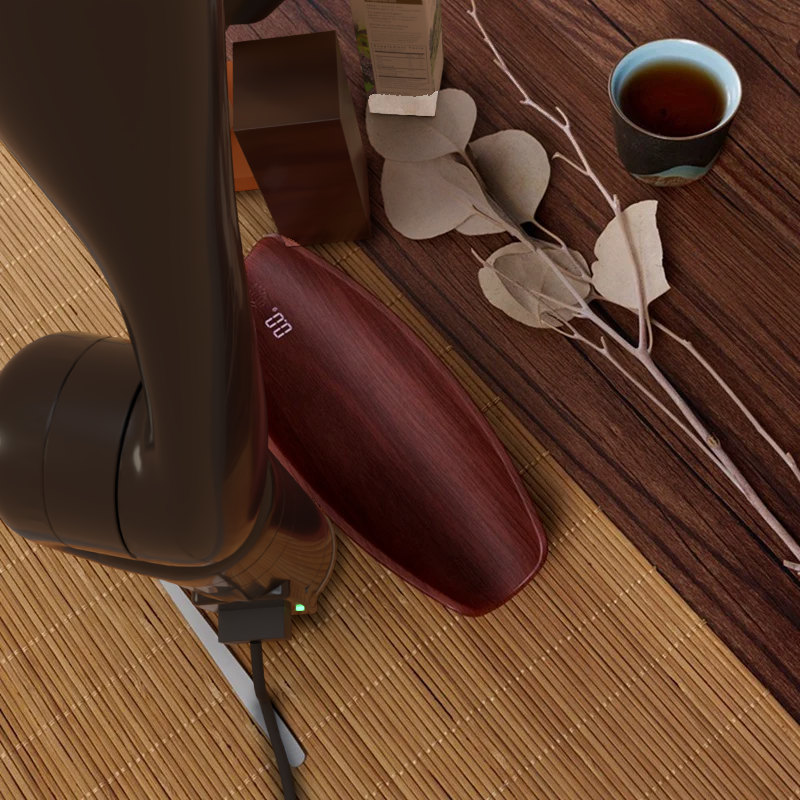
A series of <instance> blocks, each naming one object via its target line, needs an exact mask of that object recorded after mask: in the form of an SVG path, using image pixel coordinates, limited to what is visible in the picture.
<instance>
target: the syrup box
mask: <svg viewBox="0 0 800 800" xmlns="http://www.w3.org/2000/svg"><path fill="white" fill-rule="evenodd" d="M348 2H349V8H350V12H351V19H352V25H353V30H354V36H355V41H356V47H357V53H358V57H359V58H358V59H359V63H360V68H361V75H362V79H363V86H364V91H365V96H366V97H365V98H366V101H367V103H368V99H369V96H370V95H372V94H381V95H383V94H385V95H389V94H390V95H396V96H399V95H401V96H413V97H416V96H423V95H427V94H428V96H430V95H432V94H433V93H434V92H435V91H439V92H440V88H441V82H442V77H443V69H444V64H445V58H444V57H445V53H444V52H445V51H444V37H443V36H444V35H443V19H442V18H443V16H442V0H348Z"/></svg>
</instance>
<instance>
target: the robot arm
mask: <svg viewBox="0 0 800 800" xmlns="http://www.w3.org/2000/svg"><path fill="white" fill-rule="evenodd" d="M285 1H286V0H0V141H1V142H2V144H3V145H4V146H5V148H6V149H7V150H8V151H9V152H10V153H11V155H12V156H13V157H14V158H15V160H16V161H17V163H19V165H20V166H21V167H22V168H23V170H24V171H25V172H26V173H27V175H28V176H29V177H30V179H32V181H33V182H34V184H35V185H36V186H37V187H38V188H39V189H40V191H41V192H42V193H43V194H44V196H45V197H46V198H47V200H48V201H49V202H50V203H51V204H52V206H53V208H55V209H56V210H57V212H58V213H59V214H60V215H61V216H62V218H63V219H64V221H65V222H66V223H67V225H68V226H69V227H70V228H71V230H72V231H73V232H74V234H75V235H76V236H77V238H78V239H79V241H81V243H82V245H84V247H85V248H86V250H87V251H88V253H89V254H90V256H91V258H92V259H93V261H94V263H95V264H96V266H97V267H98V269H99V270H100V272H101V273H102V275H103V277H104V279H105V282H106V283H107V285H108V288H109V289H110V291H111V293H112V295H113V297H114V300H115V302H116V305H117V307H118V309H119V312H120V314H121V317H122V319H123V322H124V325H125V329H126V331H127V335H128V338H124V337H119V336H112V335H106V334H101V333H94V332H89V331H77V330H64V331H56V332H52V333H48V334H46V335H43V336H40V337H39V338H36V339H35V340H33V341H31V342H30V343H28V344H26V345H24V347H22V348H20V349H19V350H18V351H17V352H16V353H15V354H13V356H12V357H11V358H10V359H9V360H8V361H7V362H6V364H5V365H4V366H3V367H2V368H1V370H0V519H1V521H3V522H4V524H5V525H6V526H7V527H8V528H9V529H10V530H11V531H13V532H14V533H15V534H17V535H18V536H20V537H22V538H24V539H25V540H27V541H29V542H32V543H34V544H37V545H40V546H43V547H45V548H48V549H50V550H51V549H52V550H55V551H57V552H61V553H62V554H63V553H64V554H66V555H70V556H73V557H76V558H79V559H82V560H85V561H89V562H91V563H95V564H98V565H100V566H104V567H107V568H110V569H114V570H118V571H122V572H126V573H129V574H134V575H138V576H142V577H143V576H144V577H147V578H152V579H156V580H160V581H164V582H167V583H170V584H172V585H173V584H174V585H176V586H178V587H181V588H184V589H186V590H189V591H191V604H192V605H193V606H194V607H197V608H199V609H202V610H205V611H208V612H211V613H214V614H217V642H218V643H219V644H223V645H227V646H230V645H243V644H244V645H245V644H249V649H250V663H251V676H252V683H253V689H254V694H255V696H256V699H257V701H258V704H259V706H260V710H261V714H262V718H263V721H264V724H265V728H266V731H267V734H268V737H269V741H270V744H271V748H272V750H273V754H274V757H275V761H276V765H277V769H278V774H279V778H280V782H281V786H282V791H283V792H282V793H283V797H284V798H283V799H284V800H297V795H296V788H295V784H294V780H293V778H294V777H293V775H292V771H291V766H290V763H289V759H288V756H287V752H286V749H285V745H284V743H283V740H282V736H281V733H280V729H279V726H278V722H277V719H276V714H275V711H274V708H273V704H272V701H271V698H270V694H269V692H268V691H267V686H266V679H265V669H264V667H265V666H264V654H263V643H269V642H271V643H272V642H273V643H274V642H285V641H286V642H287V641H292V640H293V632H292V631H293V629H292V628H293V627H292V616H298V615H299V616H302V615H313V614H315V613H317V611H318V598H319V596H320V595H321V594H322V593H323V592H324V590H325V588H326V587H327V585H328V584H329V582H330V580H331V578H332V576H333V573H334V570H335V566H336V563H337V557H338V543H337V536H336V531H335V529H334V526H333V523H332V521H331V519H330V517H329V516H328V517H327V516H326V515H325V514H324V513H323V512H322V510H321V509H320V508H319V506H318V505H317V504H316V503H315V502H314V500H315V499H314V498H313V497H311V496H310V495H309V494H308V492H307V491H306V490H305V489H304V488H303V487H302V486H301V484H300V483H299V482H298V481H297V479H295V477H294V476H293V475H292V474H291V473H290V472H289V470H288V469H287V468H286V467H285V466H284V465H283V463H281V461H280V460H279V459H278V457H277V456H276V455H275V454H274V453H273V451H271V450H270V449H269V419H268V417H269V416H268V407H267V406H268V405H267V398H266V390H265V383H264V373H263V368H262V359H261V354H260V349H259V342H258V335H257V330H256V325H255V323H256V322H255V318H254V311H253V306H252V300H251V294H250V293H251V292H250V287H249V282H248V275H247V271H246V270H247V269H246V263H245V256H244V249H243V242H242V236H241V229H240V221H239V213H238V212H239V211H238V203H237V197H236V196H237V195H236V191H235V182H234V170H233V157H232V145H231V132H230V118H229V99H228V79H227V61H228V60H227V58H228V57H227V38H226V36H227V35H226V32H227V31H228V29H229V27H230V26H238V25H239V26H242V25H253V24H257V23H259V22H262V21H264V20H265V19H266V18H268V17H269V16H270V15H271V14H273V13H274V11H275V10H276V9H278V8H279V7H280V6H281V5H282V4H283V3H284V2H285ZM312 498H313V499H314V500H313V499H312Z"/></svg>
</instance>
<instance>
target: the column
mask: <svg viewBox="0 0 800 800" xmlns="http://www.w3.org/2000/svg"><path fill="white" fill-rule="evenodd" d="M232 61H233V132H234V134H235V136H236V139H237V141H238V143H239V145H240V147H241V150H242V152H243V154H244V156H245V158H246V161H247V163H248V165H249V167H250V169H251V172H252V174H253V176H254V178H255V181H256V183H257V185H258V187H259V189H258V190H259V191H260V194H261V196H262V198H263V200H264V203H265V205H266V207H267V209H268V211H269V213H270V216H271V218H272V220H273V222H274V225H275V227H276V228H277V231H278V233H279V236H280V235H283V236H285V237H287V238H290V239H292V240H294V241H295V242H297V243H298V244H300V245H302V246H301V247H305V246H314V245H325V244H326V245H327V244H334V243H336V244H337V243H344V242H354V241H363V240H371V239H372V223H371V221H372V220H371V207H370V190H369V189H370V188H369V173H368V162H367V158H366V153H365V149H364V145H363V141H362V136H361V132H360V128H359V124H358V123H359V122H358V119H357V115H356V110H355V106H354V102H353V97H352V93H351V89H350V86H349V80H348V76H347V72H346V68H345V63H344V60H343V55H342V51H341V47H340V41H339V38H338V34H337V29H333V30H332V29H331V30H324V31H323V30H322V31H315V32H308V33H307V32H306V33H297V34H292V35H281V36H273V37H267V38H257V39H250V40H241V41H240V40H239V41H233V42H232Z"/></svg>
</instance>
